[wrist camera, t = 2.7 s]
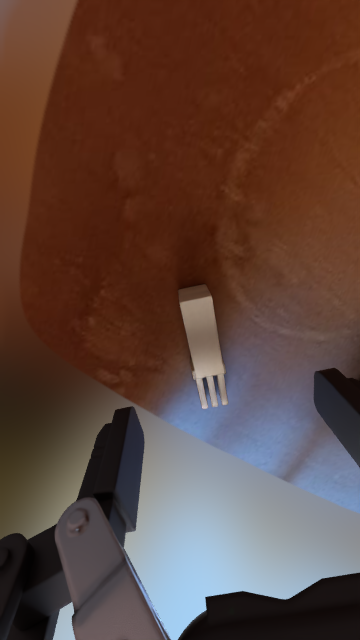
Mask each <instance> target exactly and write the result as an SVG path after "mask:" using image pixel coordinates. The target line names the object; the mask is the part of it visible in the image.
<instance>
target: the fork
mask: <svg viewBox="0 0 360 640" xmlns="http://www.w3.org/2000/svg"><path fill="white" fill-rule="evenodd" d="M178 295H179V303H180V307H181V312H182V317H183V321H184V326H185V330H186V335H187V339H188V344H189V348H190V353H191V357H192V359H190V364H191V371H192V376H193V379H194V380H195V379H196V383H197V387H198V392H199V396H200V401H201V405H202V409H206V408H208V404H207V399H206V394H205V389H204V385H203V380H202V378H205V377H206V379H207V384H208V389H209V394H210V399H211V403H212V407H217V406H218V402H217V396H216V391H215V385H214V380H213V376H216V378H217V384H218V390H219V395H220V399H221V402H222V405H227V404H228V399H227V393H226V387H225V380H224V374H226V370H225V364H224V361H223V359H222V356H221V350H220V344H219V338H218V331H217V325H216V319H215V313H214V307H213V300H212V296H211V294H210V292H209V290H208V288H207V286H206V284H203V285H198V286H194V287H189V288H184V289H179V290H178Z"/></svg>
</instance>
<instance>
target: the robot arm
mask: <svg viewBox="0 0 360 640" xmlns="http://www.w3.org/2000/svg"><path fill="white" fill-rule="evenodd" d="M314 403H315V406H316V409H317V411H318V412H319V414H320V415H321V417H322V418H323V419H324V421H325V422H326V423H327V425H328V426H329V427H330V429H331V430H332V431H333V433H334V434H335V435H336V437H337V438H338V439H339V441H340V442H341V443H342V445H343V446H344V447H345V449H346V450H347V451H348V453H349V454H350V455H351V457H352V458H353V459H354V461H355V462H356V463H357V465H358V466H359V467H360V381H358V380H356V379H354V378H346V377H345V376H344V375H343V374H342V373H341V372H340V371H339V370H337V369H336V368H331V369H326V370H320V371H316V372H315V374H314ZM143 453H144V434H143V430H142V427H141V425H140V422H139V419H138V416H137V414H136V411H135V409H134V407H126V408H122V409H117V410H115V413H114V416H113V420H112V423H108V424H105V425H104V427H103V428H102V429H101V431H100V432H99V434H98V435H97V438H96V441H95V444H94V449H93V451H92V454H91V459H90V460H89V463H88V466H87V470H86V473H85V476H84V479H83V482H82V486H81V488H80V492H79V495H78V498H77V500H76V502H74V503H73V504H71V505H70V506H69V507H68V508H67V509H66V510H65V511H64V513H63V514H62V516H61V517H60V519H59V521H58V523H57V524H56V525H54V526H52V527H51V528H49V529H47V530H45V531H43V532H41V533H39V534H38V535H36V536H34V537H32V538H30V539H28V540H27V539H26V538H25V537H24V536H23V535H22V534H20V533H14V534H10V535H8V536H6V537H4V538H2V539H1V540H0V640H53V636H54V632H55V628H56V624H57V619H58V615H59V611H60V609H61V608H63V607H64V606H66V605H67V604H69V603H71V602H73V606H74V614H73V616H72V626H73V630H74V635H75V639H76V640H171V639H170V636H169V635H168V633H167V631H166V629H165V627H164V625H163V623H162V621H161V619H160V617H159V615H158V613H157V612H156V610H155V608H154V606H153V604H152V602H151V600H150V598H149V596H148V594H147V593H146V590H145V588H144V586H143V585H142V582H141V580H140V579H139V577H138V575H137V573H136V571H135V569H134V567H133V565H132V563H131V561H130V559H129V557H128V555H127V553H126V551H125V549H124V541H125V533H127V532H132V531H135V530H136V521H137V511H138V501H139V492H140V482H141V473H142V463H143ZM205 598H206V608H207V610H206V611H204V612H203V613H201V614H200V615H199V616H197V617H196V618H195V619H194V620H193V621H192V622H191V623H190V624H189V625H188V626H187V628H186V629H185V630H184V631H183V633H182V634H181V636H180V637H179V639H178V640H360V573H355V574H348V575H342V576H336V577H329V578H323V579H321V580H319V581H318V582H316V583H314V584H312V585H311V586H309V587H308V588H306V589H304V590H303V591H301V592H299V593H298V594H296V595H295V596H293V597H291V598H290V599H286V600H284V599H278V598H273V597H268V596H264V595H258V594H254V593H249V592H244V591H241V592H234V593H228V594H222V595H215V596H209V597H205Z"/></svg>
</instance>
